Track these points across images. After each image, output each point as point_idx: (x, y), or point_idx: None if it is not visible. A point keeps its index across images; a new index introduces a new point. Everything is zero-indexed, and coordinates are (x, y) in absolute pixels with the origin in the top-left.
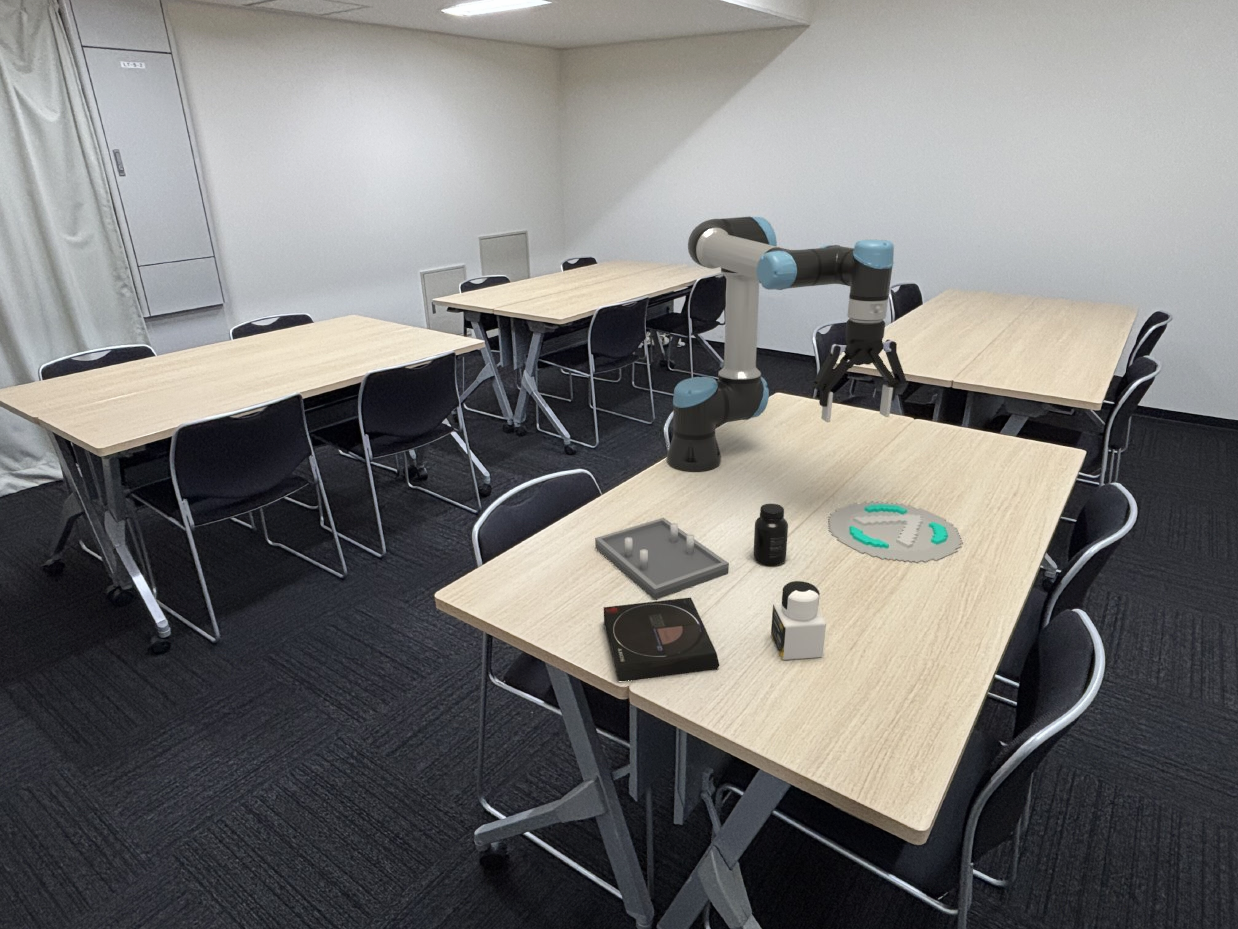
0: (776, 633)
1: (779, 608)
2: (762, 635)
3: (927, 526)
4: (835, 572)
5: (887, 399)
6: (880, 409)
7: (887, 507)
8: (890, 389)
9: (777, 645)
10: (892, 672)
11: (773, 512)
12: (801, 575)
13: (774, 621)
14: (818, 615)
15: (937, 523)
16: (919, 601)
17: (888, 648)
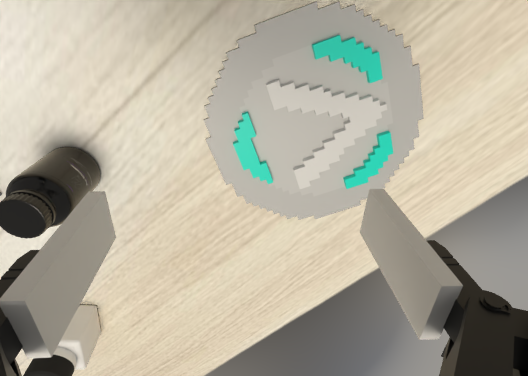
0: None
1: None
2: None
3: (375, 133)
4: (167, 217)
5: (392, 280)
6: (375, 202)
7: (355, 58)
8: (420, 333)
9: None
10: (159, 349)
11: (21, 235)
12: (116, 215)
13: None
14: (78, 362)
15: (398, 128)
16: (240, 280)
17: (169, 328)
